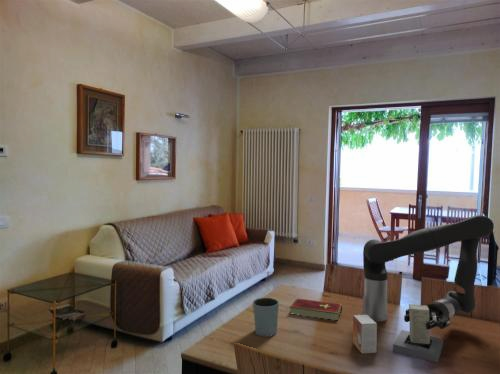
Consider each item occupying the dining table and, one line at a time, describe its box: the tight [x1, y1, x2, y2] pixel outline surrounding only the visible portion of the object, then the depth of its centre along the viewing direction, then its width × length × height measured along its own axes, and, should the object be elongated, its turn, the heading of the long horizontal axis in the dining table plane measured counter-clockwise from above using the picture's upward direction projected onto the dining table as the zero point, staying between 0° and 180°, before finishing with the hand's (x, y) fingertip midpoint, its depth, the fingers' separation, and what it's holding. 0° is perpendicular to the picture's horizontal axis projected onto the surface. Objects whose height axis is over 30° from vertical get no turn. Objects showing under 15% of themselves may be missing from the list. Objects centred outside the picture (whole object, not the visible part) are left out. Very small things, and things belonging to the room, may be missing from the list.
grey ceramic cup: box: [252, 297, 280, 337], centre depth 142 cm, size 10×10×12 cm
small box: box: [352, 314, 378, 354], centre depth 128 cm, size 8×6×10 cm
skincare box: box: [408, 304, 431, 344], centre depth 128 cm, size 6×4×12 cm
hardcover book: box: [289, 298, 343, 321], centre depth 161 cm, size 12×21×4 cm, turn 68°
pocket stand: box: [392, 329, 444, 363], centre depth 128 cm, size 14×14×2 cm
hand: (416, 322), depth 126 cm, fingers closed on skincare box, 7 cm apart
